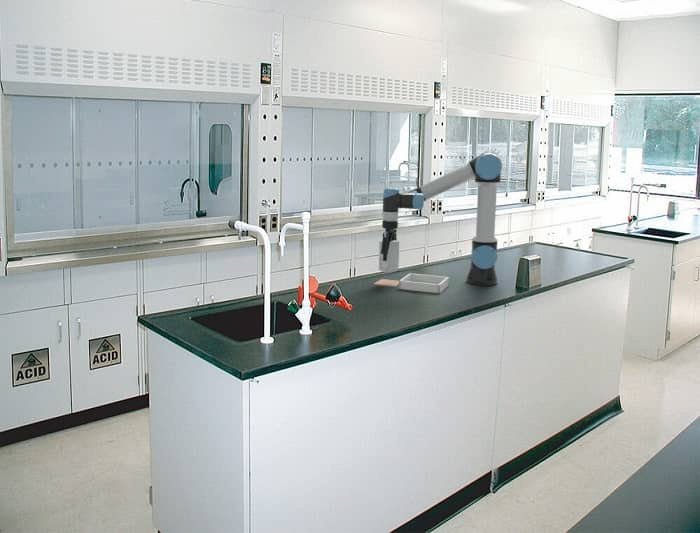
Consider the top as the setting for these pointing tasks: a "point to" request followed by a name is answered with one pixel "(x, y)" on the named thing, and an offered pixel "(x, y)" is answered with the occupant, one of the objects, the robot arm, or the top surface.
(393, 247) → the skincare box
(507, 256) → the top surface
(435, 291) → the bin
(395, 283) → the tile
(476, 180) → the robot arm
